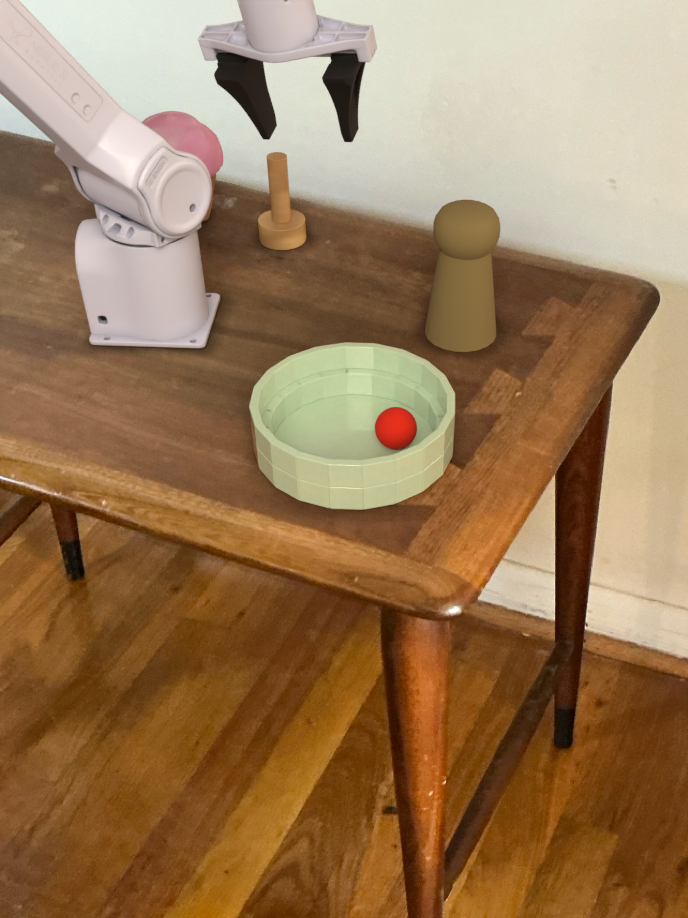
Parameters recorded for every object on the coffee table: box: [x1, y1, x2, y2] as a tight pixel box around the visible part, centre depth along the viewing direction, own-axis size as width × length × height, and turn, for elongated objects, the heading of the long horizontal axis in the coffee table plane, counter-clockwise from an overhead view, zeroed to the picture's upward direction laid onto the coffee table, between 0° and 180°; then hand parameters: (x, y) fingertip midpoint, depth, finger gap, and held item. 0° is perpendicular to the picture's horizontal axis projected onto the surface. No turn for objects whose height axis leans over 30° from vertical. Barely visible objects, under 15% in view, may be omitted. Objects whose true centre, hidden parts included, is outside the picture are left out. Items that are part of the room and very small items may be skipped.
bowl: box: [248, 341, 456, 511], centre depth 73 cm, size 14×14×4 cm
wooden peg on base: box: [257, 151, 307, 251], centre depth 94 cm, size 4×4×8 cm
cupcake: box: [141, 110, 224, 223], centre depth 96 cm, size 9×9×10 cm
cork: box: [424, 199, 501, 353], centre depth 82 cm, size 6×6×11 cm
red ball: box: [375, 407, 417, 449], centre depth 73 cm, size 3×3×3 cm
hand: (310, 133), depth 89 cm, fingers open, 7 cm apart
